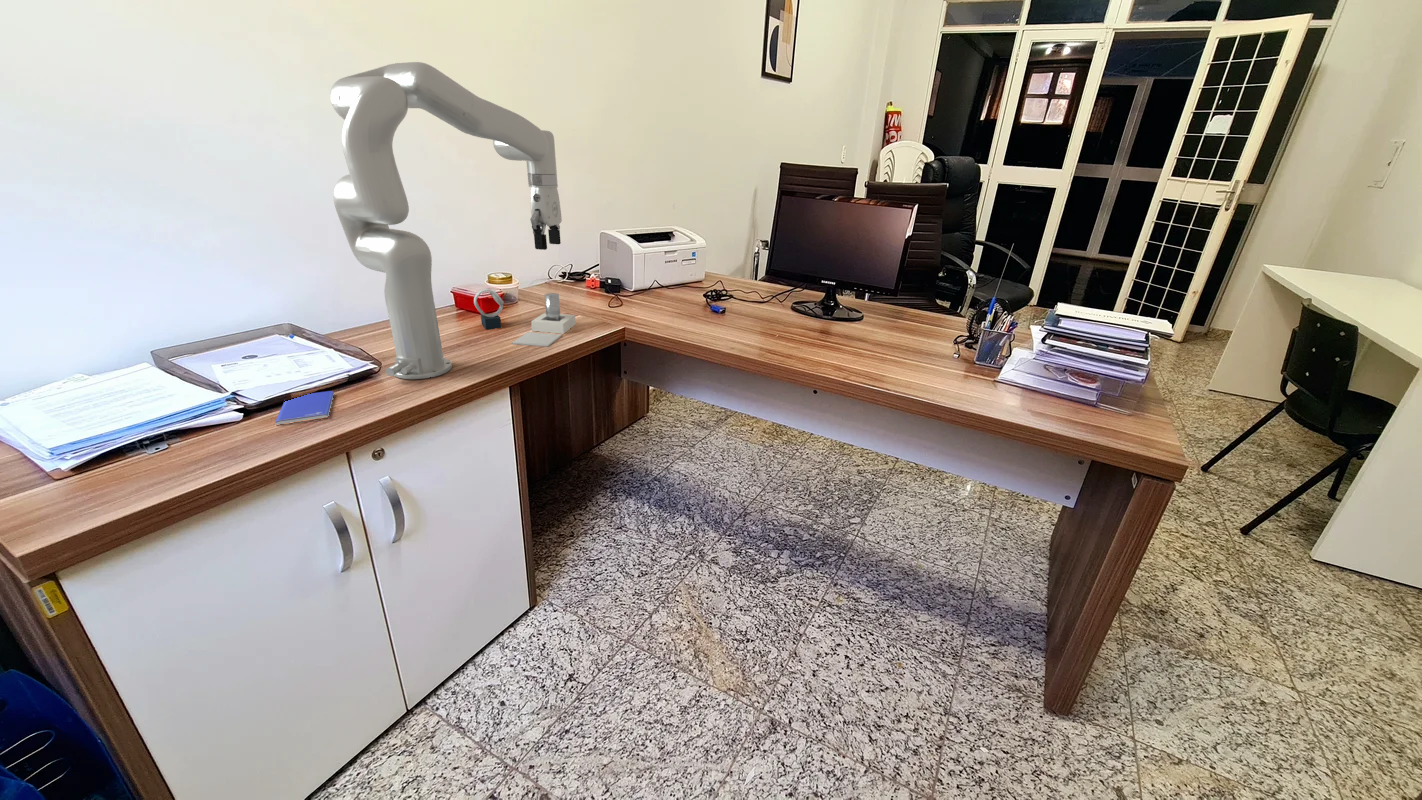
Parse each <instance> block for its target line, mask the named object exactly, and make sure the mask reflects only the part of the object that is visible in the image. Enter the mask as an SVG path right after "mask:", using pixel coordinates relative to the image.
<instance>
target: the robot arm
mask: <svg viewBox="0 0 1422 800" xmlns="http://www.w3.org/2000/svg"><path fill="white" fill-rule="evenodd" d="M329 95H330V96H329V97H330V103H331V105H332V108H333V109H334V112H335V113H337V114H338V115H339V117H341V119H343V120H344V122H343V126H342V130H341V147H342V152H343V155H344V158H345V161H346V165H347V168H348V172H349V174H347V175H344V176H342V177H341V178H339V179H338V180H337V181H336V184H335V185H334V188H333V204H334V208H335V210H336V213H337V217H338V219H339V221H340V224H341V227H342V230H343V232H344V235H345V236H346V239H347V242H348V244H349V247H350V249H351V252H352V254H353V255H354V257H355V258H356V260H357V261H358V263H360V264H361V265H362V266H363V267H365V268H366V269H368V270H369V269H370V270H372V271H375V272H380V273H385V283H384V289H383V290H384V292H383V293H384V294H383V295H384V300H385V301H384V302H385V306H386V310H387V314H388V318H389V319H388V320H389V325H390V329H391V333H392V339H393V343H394V349H395V355H396V356H395V357H394V360H395V362H394V363H393V365H391V366H389V367H387V368H386V369H385V373H386V375H388V377H393V376H394V377H396V378H398V379H404V380H423V379H430V377H431V378H435V377H439V376H441V375H443V374H446V373H448V372H449V371H450V370H452V368H453V364H452V361H451V360H450V359H448V358H446V357H444V352H443V346H442V341H441V335H440V334H441V333H440V329H439V321H438V317H437V311H436V305H435V299H434V292H433V284H432V263H433V262H432V261H433V259H432V257H433V256H432V253H431V250H430V247H429V245H428V244H427V242H426V241H425V240H424V239H423V238H421V237H420V236H419V235H417V234H415V233H413V232H410V231H406V230H400V229H394V228H389V226H392V225H393V226H395V225H398V224H401V223H403V222H404V221H405V220H406V219H407V217H408V216H409V212H410V211H409V210H410V206H409V202H408V198H407V194H406V191H405V187H404V185H403V182H402V179H401V176H400V172H399V169H398V167H397V164H396V158H395V155H394V149H393V140H394V136H395V133H396V131H397V129H398V128H399V126H400V124H402V122H403V121H404V119H405V118H406V116H407V113H408V110H409V109H421V110H423V111H425V112H428V113H429V114H431V115H432V116H434V117H436V118H438V119H439V120H441V121H442V122H445V123H446V124H448V125H450V126H452V127H453V128H455V129H457V131H458V130H459V132H462V133H463V134H465V135H470V136H473V137H476V138H481V139H485V140H486V139H487V140H492V143H493V144H492V145H493V148H494V151H495V152H496V153H497V155H498V156H500V157H502V158H503V159H506V160H509V161H521V162H522V161H525V162H526V169H527V171H526V172H527V183H528V184H527V185H528V188H530V192H529V193H530V196H529V197H530V214H531V217H530V223H531V229H532V234H533V240H534V241H533V242H534V248H535V250H544V251H545V250H547V249H548V243H547V242H549V244H550V245H561V231H560V230H561V226H560V224H561V223H562V220H563V219H562V210H561V203H560V202H561V201H560V196H559V195H560V194H559V190H558V187H559V185H558V175H557V174H558V173H557V162H556V161H557V159H556V148H555V135H554V134H553V132H552V131H549V130H543V129H541V128H539V127H538V126H537V125H536V124H534V123H532V122H531V120H528V119H527V118H525V117H524V116H522V115H520V114H518V113H516V112H515V111H511V110H509V109H507V108H505V107H502V106H500V105H498V104H495V103H494V102H491V101H488V100H486V99H483V98H481V97H479V96H478V95H476V94H474V93H473V92H471V91H470V90H469V89H467V88H465V87H464V86H463V85H461V84H460V83H458V82H456V81H455V80H453V79H452V78H451V77H450V76H448V75H446V74H445V73H444V72H442V71H440V70H439V69H437V68H436V67H434V66H432V65H430V64H428V63H425V62H421V61H412V62H411V61H410V62H396V63H391V64H390V63H389V64H387V65H383V66H379V67H377V68H374V69H370V70H366V71H363V72H359V73H355V74H353V75H347V76H344V77H342V78H341V77H340V78H339V79H337V80H336V81H335V82H334V83H333V85H332V86H331V89H330V92H329ZM547 227H548V228H549V229H547V231H548V241H547V234H545V232H546V228H547Z"/></svg>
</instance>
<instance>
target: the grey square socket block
mask: <svg viewBox="0 0 1422 800" xmlns="http://www.w3.org/2000/svg"><path fill="white" fill-rule="evenodd" d="M560 317H561V320H560V321H548V320H547V318H546V312H543V313H542V314H540V315H539V316H538V317H536V318H534V319H532V320H531V322H530V323H531V332H535V331H540V332H539V333H548V332H550V333H549V334H559V335H562V334H563V335H564V334H566V332H568V331H570V330H571V329H572V328H573V327H575V326H576V325H575V324H576V315H575V314H567V313H566V314H565V313H560ZM574 325H575V326H574ZM571 327H572V328H571ZM570 328H571V329H570Z"/></svg>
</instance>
